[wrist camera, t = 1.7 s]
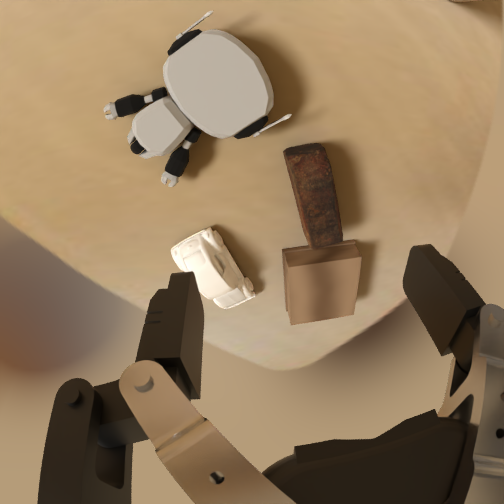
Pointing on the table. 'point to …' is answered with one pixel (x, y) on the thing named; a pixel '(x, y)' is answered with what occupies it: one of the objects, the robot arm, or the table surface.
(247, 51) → the robot toy
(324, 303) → the base brick
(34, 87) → the table surface
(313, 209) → the brick
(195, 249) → the car
